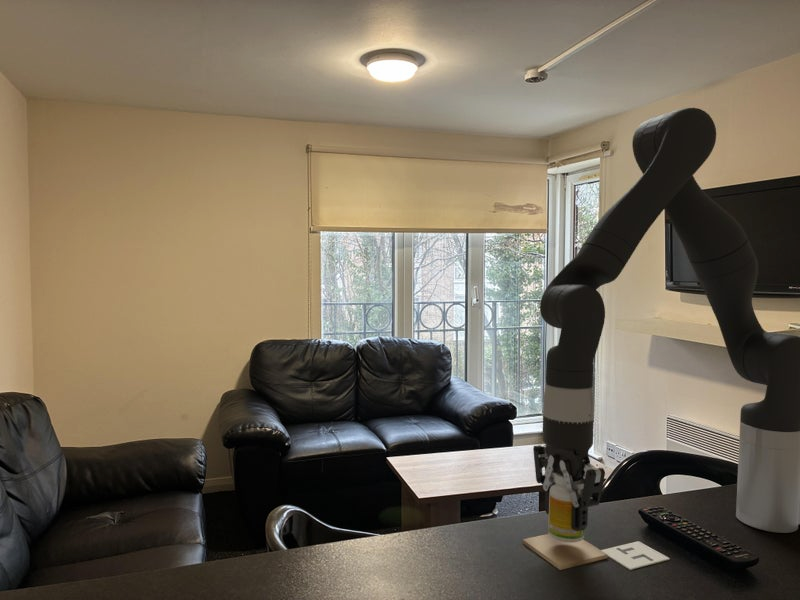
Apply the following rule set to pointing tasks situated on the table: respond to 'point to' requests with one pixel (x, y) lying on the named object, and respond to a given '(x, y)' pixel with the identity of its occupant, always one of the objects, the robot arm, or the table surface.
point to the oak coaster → (564, 551)
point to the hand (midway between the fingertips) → (565, 521)
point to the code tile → (635, 555)
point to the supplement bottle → (562, 512)
